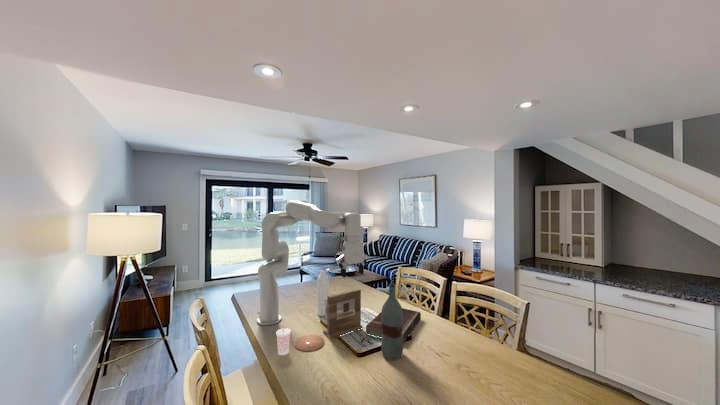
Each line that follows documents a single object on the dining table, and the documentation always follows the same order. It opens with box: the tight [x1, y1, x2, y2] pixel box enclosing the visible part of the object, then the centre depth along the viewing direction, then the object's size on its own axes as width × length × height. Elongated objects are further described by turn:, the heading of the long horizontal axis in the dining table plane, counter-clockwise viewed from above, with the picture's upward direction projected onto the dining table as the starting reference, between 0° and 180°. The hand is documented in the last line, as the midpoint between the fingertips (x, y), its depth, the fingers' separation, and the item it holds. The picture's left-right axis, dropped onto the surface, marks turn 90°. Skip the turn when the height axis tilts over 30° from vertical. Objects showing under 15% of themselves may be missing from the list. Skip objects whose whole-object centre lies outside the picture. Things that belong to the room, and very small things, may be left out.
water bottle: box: [316, 268, 331, 317], centre depth 158 cm, size 9×6×25 cm
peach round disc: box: [294, 334, 325, 352], centre depth 125 cm, size 13×13×1 cm
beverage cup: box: [275, 319, 292, 356], centre depth 118 cm, size 6×6×14 cm
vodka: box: [380, 283, 404, 361], centre depth 116 cm, size 9×9×30 cm
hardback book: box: [365, 307, 422, 345], centre depth 141 cm, size 29×19×5 cm, turn 152°
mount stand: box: [322, 288, 363, 340], centre depth 137 cm, size 10×18×20 cm, turn 124°
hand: (352, 275), depth 129 cm, fingers open, 9 cm apart
